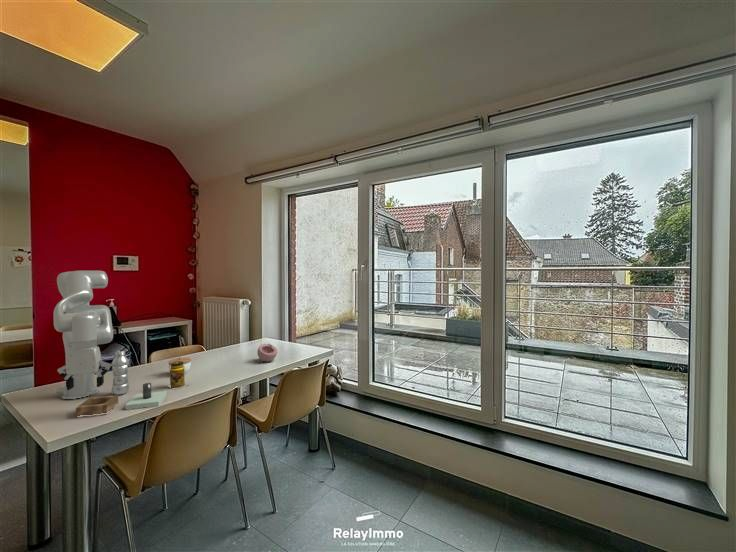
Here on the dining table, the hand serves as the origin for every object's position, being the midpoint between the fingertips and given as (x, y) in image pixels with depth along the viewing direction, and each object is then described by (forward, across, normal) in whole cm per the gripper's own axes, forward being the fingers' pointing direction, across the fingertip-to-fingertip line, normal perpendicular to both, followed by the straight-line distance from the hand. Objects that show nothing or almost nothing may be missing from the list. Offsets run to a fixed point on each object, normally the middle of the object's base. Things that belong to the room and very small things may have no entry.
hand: (85, 387), depth 127 cm
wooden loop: (+10, +4, +1) cm, 11 cm away
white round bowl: (+10, +24, +42) cm, 49 cm away
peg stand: (+11, +20, +5) cm, 23 cm away
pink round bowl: (+10, +70, +54) cm, 89 cm away
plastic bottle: (+10, +5, +19) cm, 22 cm away
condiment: (+10, +27, +23) cm, 37 cm away
